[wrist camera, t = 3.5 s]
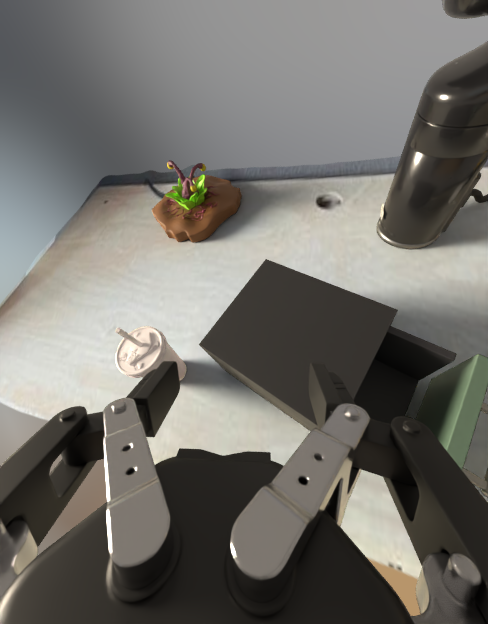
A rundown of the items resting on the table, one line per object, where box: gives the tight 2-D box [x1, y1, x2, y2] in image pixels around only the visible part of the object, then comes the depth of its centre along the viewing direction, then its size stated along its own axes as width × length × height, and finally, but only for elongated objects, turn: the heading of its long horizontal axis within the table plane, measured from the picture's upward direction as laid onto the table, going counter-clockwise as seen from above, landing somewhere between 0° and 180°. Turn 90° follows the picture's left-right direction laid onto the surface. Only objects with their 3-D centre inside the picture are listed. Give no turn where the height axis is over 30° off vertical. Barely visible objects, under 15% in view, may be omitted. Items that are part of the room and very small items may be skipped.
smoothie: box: [115, 326, 187, 381], centre depth 30 cm, size 6×6×14 cm
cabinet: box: [199, 259, 398, 431], centre depth 29 cm, size 16×14×11 cm
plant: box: [152, 161, 242, 242], centre depth 51 cm, size 20×20×11 cm
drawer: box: [353, 326, 488, 497], centre depth 24 cm, size 19×12×9 cm, turn 54°
